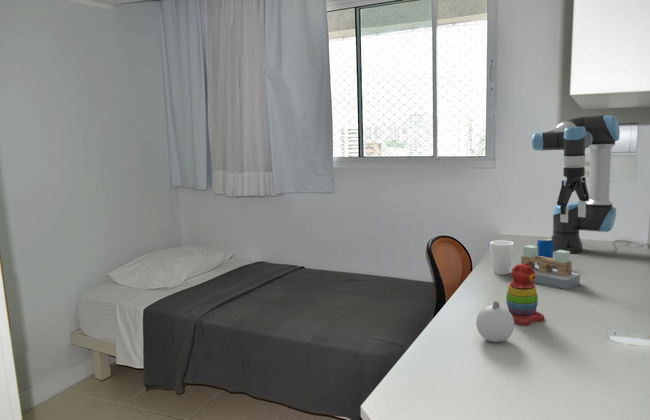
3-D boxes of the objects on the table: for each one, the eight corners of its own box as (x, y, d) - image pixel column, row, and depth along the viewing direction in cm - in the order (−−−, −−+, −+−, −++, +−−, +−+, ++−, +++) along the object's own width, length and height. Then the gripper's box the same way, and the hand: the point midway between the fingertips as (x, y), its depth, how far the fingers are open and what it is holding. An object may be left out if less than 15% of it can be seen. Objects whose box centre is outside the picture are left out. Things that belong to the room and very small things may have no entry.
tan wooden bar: (528, 265, 205) (528, 254, 205) (571, 274, 191) (571, 261, 191) (521, 268, 202) (521, 256, 202) (564, 276, 188) (565, 263, 188)
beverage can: (549, 263, 222) (550, 237, 221) (554, 267, 216) (555, 240, 214) (534, 263, 223) (535, 237, 221) (539, 267, 217) (539, 240, 215)
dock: (526, 273, 209) (526, 263, 209) (579, 283, 192) (579, 273, 191) (513, 277, 203) (513, 268, 203) (566, 289, 186) (566, 279, 185)
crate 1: (528, 254, 204) (528, 245, 204) (537, 256, 201) (538, 246, 200) (523, 256, 202) (523, 246, 201) (532, 257, 199) (532, 248, 198)
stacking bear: (523, 327, 152) (524, 270, 150) (498, 317, 161) (498, 264, 159) (547, 319, 157) (548, 265, 155) (521, 310, 166) (522, 258, 164)
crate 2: (559, 259, 194) (559, 249, 193) (569, 261, 191) (570, 251, 190) (554, 261, 191) (554, 251, 191) (564, 263, 188) (564, 253, 188)
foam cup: (489, 274, 209) (489, 244, 208) (490, 269, 218) (490, 240, 216) (513, 276, 206) (513, 245, 204) (513, 270, 214) (514, 240, 212)
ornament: (509, 350, 137) (509, 308, 135) (472, 343, 142) (472, 303, 140) (517, 337, 145) (517, 297, 143) (481, 331, 151) (481, 293, 149)
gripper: (580, 163, 205) (579, 213, 209) (547, 169, 191) (547, 223, 194) (599, 163, 199) (597, 215, 203) (566, 169, 185) (565, 225, 188)
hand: (573, 219), depth 199 cm, fingers open, 13 cm apart
